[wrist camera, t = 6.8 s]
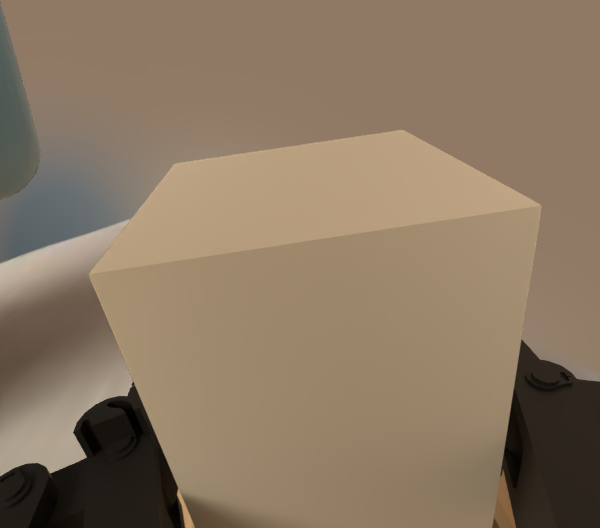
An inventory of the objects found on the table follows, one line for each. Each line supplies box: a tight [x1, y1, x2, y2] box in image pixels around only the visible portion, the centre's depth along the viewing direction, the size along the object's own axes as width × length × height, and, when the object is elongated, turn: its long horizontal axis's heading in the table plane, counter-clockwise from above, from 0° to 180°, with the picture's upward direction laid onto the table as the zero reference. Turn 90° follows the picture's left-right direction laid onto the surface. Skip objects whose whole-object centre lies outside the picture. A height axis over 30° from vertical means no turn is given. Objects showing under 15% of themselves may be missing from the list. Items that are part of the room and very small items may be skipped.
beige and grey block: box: [88, 130, 542, 528], centre depth 11 cm, size 6×6×12 cm
